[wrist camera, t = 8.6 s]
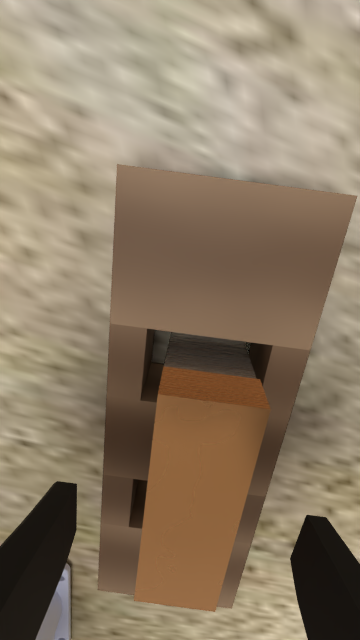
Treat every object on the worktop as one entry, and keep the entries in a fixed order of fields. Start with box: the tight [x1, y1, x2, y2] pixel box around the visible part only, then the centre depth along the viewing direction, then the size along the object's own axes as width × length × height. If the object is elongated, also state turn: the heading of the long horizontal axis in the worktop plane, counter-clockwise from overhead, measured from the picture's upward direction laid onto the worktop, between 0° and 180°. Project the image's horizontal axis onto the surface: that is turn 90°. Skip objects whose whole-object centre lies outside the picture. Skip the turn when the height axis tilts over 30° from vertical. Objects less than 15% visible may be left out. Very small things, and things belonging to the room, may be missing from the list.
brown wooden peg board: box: [98, 164, 357, 609], centre depth 14 cm, size 20×7×3 cm, turn 173°
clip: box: [134, 332, 271, 612], centre depth 13 cm, size 9×3×6 cm, turn 173°
